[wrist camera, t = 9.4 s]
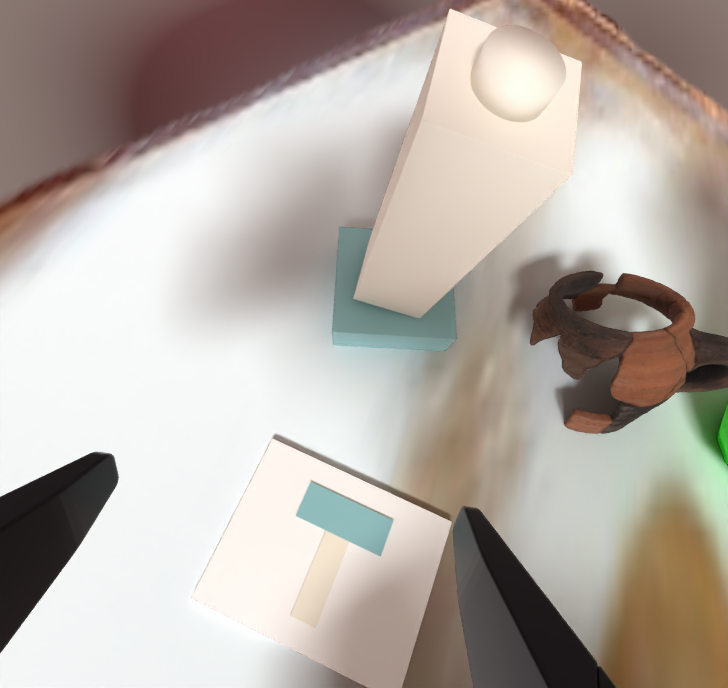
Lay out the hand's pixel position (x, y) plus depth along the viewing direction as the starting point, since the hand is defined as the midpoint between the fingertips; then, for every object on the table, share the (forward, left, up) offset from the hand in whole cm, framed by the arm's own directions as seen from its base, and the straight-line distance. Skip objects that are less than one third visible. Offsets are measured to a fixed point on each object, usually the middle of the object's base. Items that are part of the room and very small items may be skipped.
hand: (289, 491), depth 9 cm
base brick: (+3, -13, -13) cm, 19 cm away
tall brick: (+3, -13, -10) cm, 16 cm away
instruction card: (-3, +3, -13) cm, 14 cm away
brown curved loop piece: (-12, -17, -13) cm, 24 cm away
